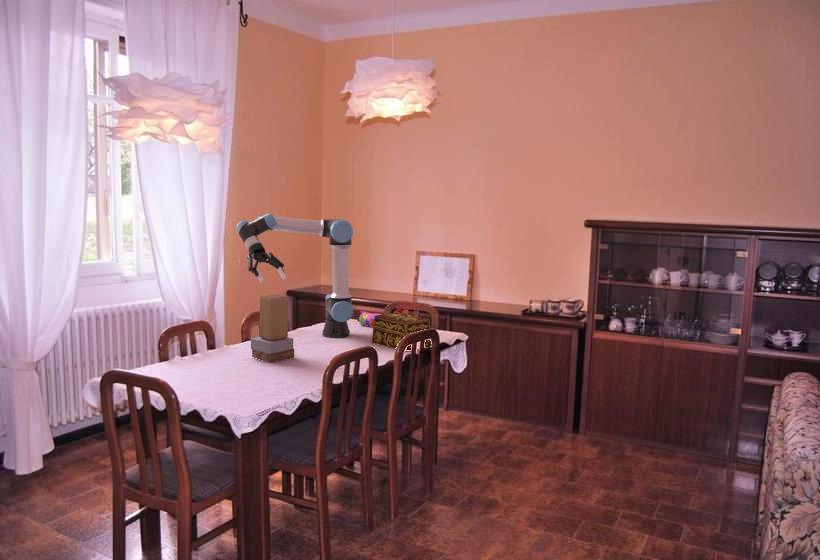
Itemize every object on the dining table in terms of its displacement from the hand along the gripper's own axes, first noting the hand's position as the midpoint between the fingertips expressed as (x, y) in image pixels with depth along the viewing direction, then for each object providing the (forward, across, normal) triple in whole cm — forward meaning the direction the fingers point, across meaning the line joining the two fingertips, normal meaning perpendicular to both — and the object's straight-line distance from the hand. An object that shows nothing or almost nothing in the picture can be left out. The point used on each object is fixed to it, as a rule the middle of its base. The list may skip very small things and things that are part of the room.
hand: (273, 279), depth 322 cm
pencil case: (+20, -79, -31) cm, 87 cm away
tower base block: (+33, +8, -18) cm, 39 cm away
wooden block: (+26, +8, -11) cm, 30 cm away
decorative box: (+50, -56, -1) cm, 75 cm away
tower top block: (+29, +9, -15) cm, 34 cm away
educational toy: (+36, -77, -15) cm, 86 cm away
